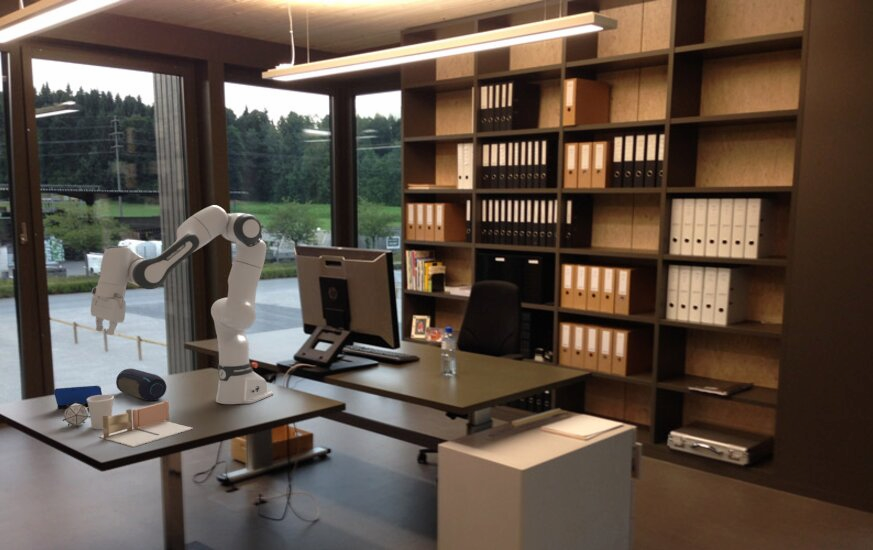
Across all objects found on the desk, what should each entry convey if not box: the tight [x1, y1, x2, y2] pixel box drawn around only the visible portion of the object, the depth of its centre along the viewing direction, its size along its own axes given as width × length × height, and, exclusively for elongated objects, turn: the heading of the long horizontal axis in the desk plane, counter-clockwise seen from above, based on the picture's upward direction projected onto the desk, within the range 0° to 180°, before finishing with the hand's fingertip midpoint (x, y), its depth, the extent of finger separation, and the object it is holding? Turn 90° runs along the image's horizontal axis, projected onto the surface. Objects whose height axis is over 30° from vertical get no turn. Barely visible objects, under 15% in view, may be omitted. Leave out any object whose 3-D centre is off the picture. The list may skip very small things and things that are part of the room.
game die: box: [61, 401, 91, 429], centre depth 242 cm, size 9×8×10 cm
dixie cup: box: [87, 394, 115, 430], centre depth 241 cm, size 8×8×10 cm
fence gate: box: [132, 400, 170, 428], centre depth 242 cm, size 14×2×6 cm, turn 147°
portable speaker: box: [115, 368, 168, 401], centre depth 281 cm, size 25×10×10 cm, turn 51°
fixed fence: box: [102, 408, 133, 440], centre depth 232 cm, size 10×2×7 cm, turn 147°
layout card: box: [99, 420, 194, 448], centre depth 235 cm, size 22×18×1 cm
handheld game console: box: [53, 385, 103, 410], centre depth 266 cm, size 16×13×9 cm
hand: (104, 332), depth 242 cm, fingers open, 8 cm apart
